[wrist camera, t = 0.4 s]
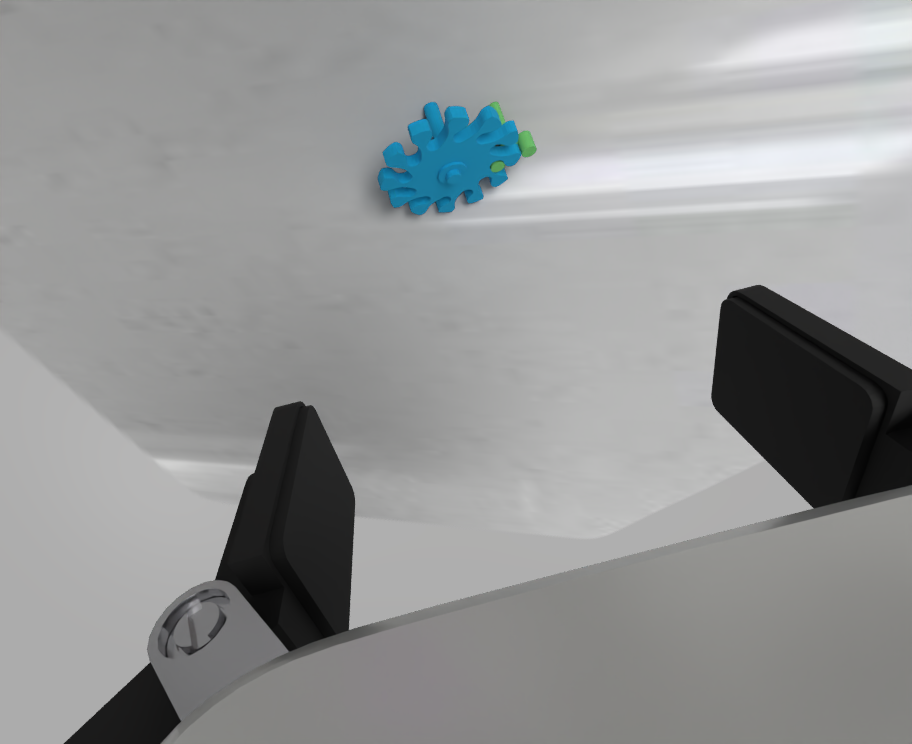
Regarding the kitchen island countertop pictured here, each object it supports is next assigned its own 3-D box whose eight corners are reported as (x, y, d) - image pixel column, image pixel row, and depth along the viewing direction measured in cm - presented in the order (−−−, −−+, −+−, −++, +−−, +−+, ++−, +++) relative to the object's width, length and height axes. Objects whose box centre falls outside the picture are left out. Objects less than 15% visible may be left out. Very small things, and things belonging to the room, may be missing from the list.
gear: (385, 232, 37) (378, 141, 27) (366, 166, 38) (353, 56, 28) (520, 204, 39) (558, 108, 29) (498, 141, 40) (527, 30, 30)
